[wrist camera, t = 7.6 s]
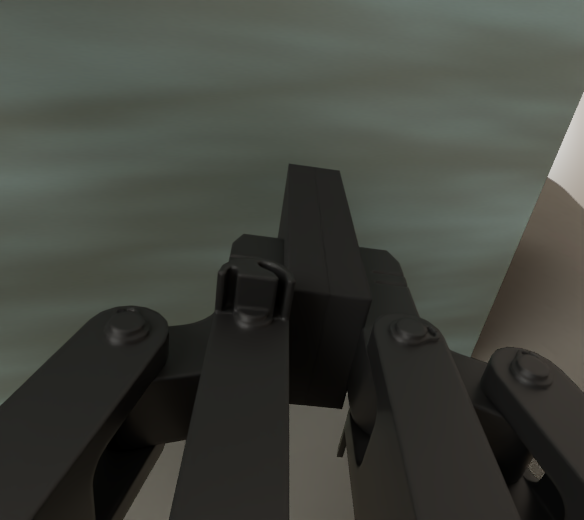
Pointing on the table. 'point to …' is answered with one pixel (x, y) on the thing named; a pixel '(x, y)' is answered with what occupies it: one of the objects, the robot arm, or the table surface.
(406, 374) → the robot arm
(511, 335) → the table surface
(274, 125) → the cupboard door
